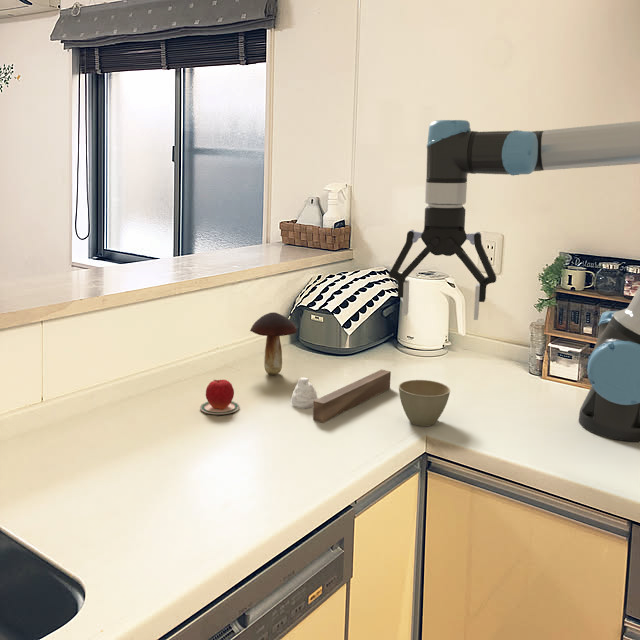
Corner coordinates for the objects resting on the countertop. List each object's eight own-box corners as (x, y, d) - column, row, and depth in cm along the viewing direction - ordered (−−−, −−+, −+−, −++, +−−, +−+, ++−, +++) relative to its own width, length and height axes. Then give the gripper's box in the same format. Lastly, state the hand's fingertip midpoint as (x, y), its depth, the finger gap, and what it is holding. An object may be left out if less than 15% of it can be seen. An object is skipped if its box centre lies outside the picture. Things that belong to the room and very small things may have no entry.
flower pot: (447, 433, 135) (449, 398, 133) (394, 428, 137) (396, 393, 135) (448, 414, 144) (450, 381, 142) (399, 410, 146) (401, 377, 144)
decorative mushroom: (246, 369, 171) (245, 308, 167) (290, 365, 174) (290, 306, 170) (255, 383, 160) (255, 319, 157) (302, 379, 164) (303, 316, 160)
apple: (193, 413, 142) (192, 382, 141) (210, 400, 150) (210, 371, 148) (229, 418, 140) (229, 387, 138) (245, 405, 147) (245, 375, 146)
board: (389, 388, 159) (390, 371, 158) (323, 422, 138) (323, 403, 138) (380, 386, 160) (381, 369, 159) (313, 419, 140) (313, 400, 139)
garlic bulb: (287, 379, 146) (299, 371, 150) (286, 406, 147) (298, 398, 152) (311, 383, 143) (322, 375, 148) (310, 411, 145) (321, 402, 150)
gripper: (514, 205, 133) (506, 315, 138) (382, 202, 139) (380, 308, 144) (514, 208, 126) (506, 324, 131) (376, 205, 132) (373, 316, 137)
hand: (440, 316), depth 137 cm, fingers open, 13 cm apart
